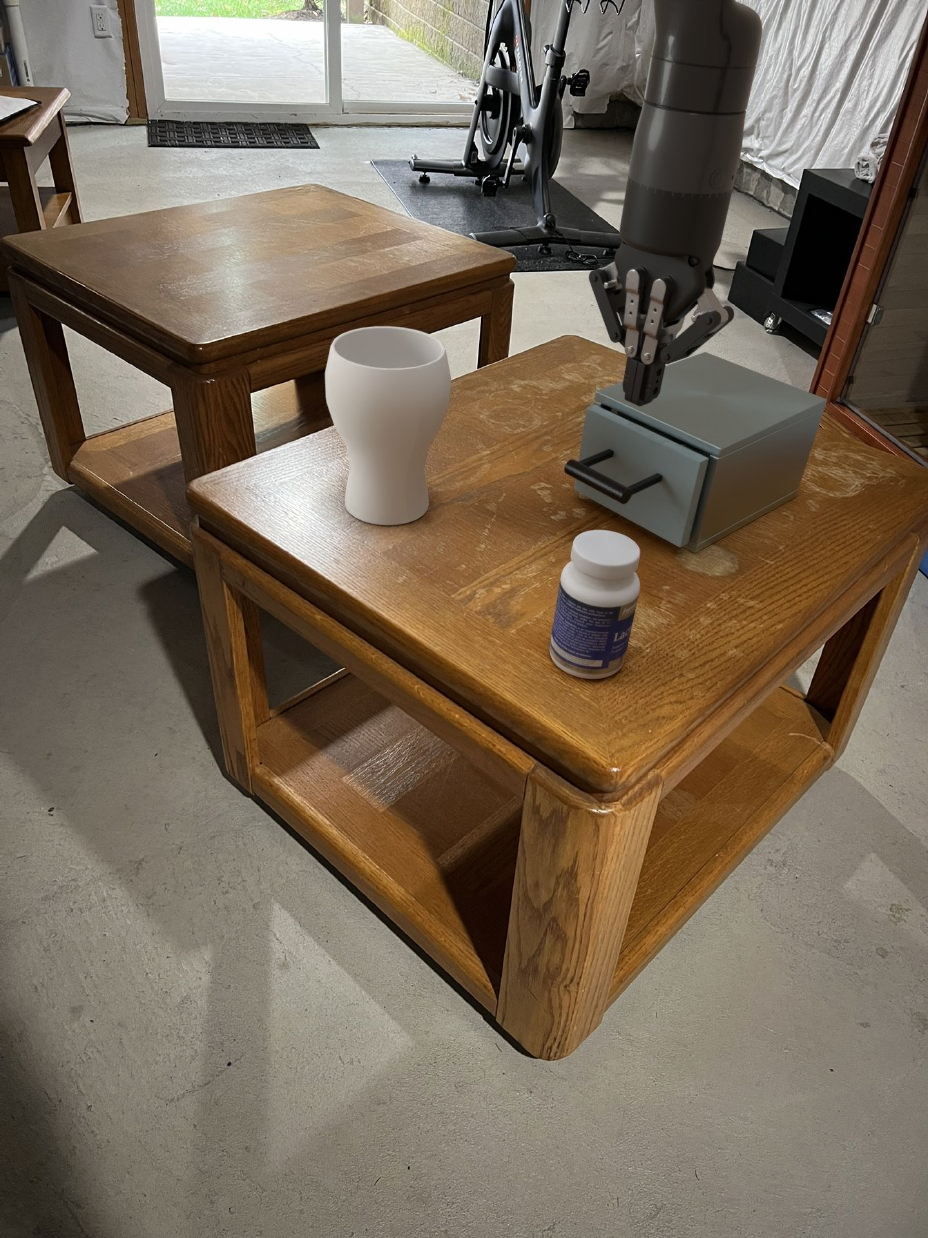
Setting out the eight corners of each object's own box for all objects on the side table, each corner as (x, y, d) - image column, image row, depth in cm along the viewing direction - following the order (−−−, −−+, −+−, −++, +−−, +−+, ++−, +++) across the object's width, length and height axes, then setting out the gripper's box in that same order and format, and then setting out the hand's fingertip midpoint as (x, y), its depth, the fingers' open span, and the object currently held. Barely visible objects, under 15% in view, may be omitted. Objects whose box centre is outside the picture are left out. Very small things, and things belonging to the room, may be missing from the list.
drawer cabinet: (695, 553, 83) (721, 448, 77) (579, 490, 91) (595, 390, 84) (796, 496, 92) (827, 399, 86) (684, 444, 100) (705, 351, 94)
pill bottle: (622, 688, 68) (647, 575, 62) (544, 675, 68) (561, 562, 62) (625, 640, 72) (648, 530, 66) (552, 628, 73) (568, 519, 67)
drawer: (639, 570, 78) (657, 482, 73) (531, 508, 85) (542, 423, 80) (777, 494, 90) (802, 414, 85) (673, 445, 97) (690, 368, 92)
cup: (426, 471, 92) (432, 320, 83) (458, 527, 84) (469, 367, 75) (319, 481, 89) (313, 326, 80) (341, 541, 81) (337, 376, 72)
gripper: (789, 190, 65) (730, 418, 76) (642, 151, 73) (607, 364, 83) (727, 204, 61) (674, 443, 72) (578, 161, 68) (549, 384, 79)
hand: (638, 400), depth 77 cm, fingers closed
